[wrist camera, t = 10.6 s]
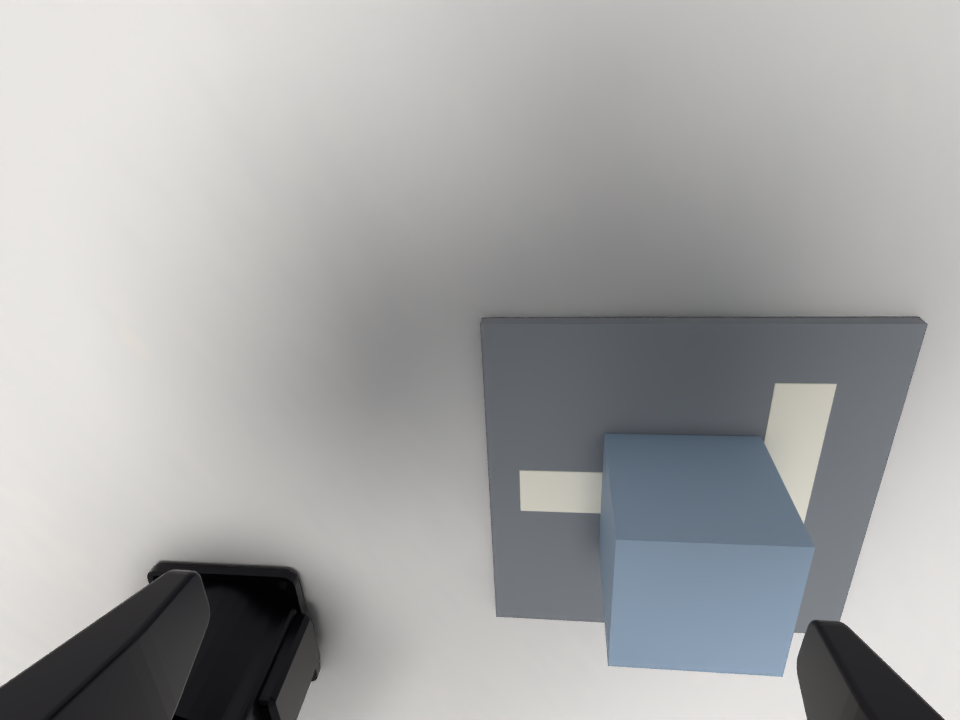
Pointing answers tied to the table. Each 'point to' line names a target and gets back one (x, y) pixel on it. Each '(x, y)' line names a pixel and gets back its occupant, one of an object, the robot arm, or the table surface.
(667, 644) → the blue cube
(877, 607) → the table surface
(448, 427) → the table surface
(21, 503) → the table surface
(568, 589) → the letter card
